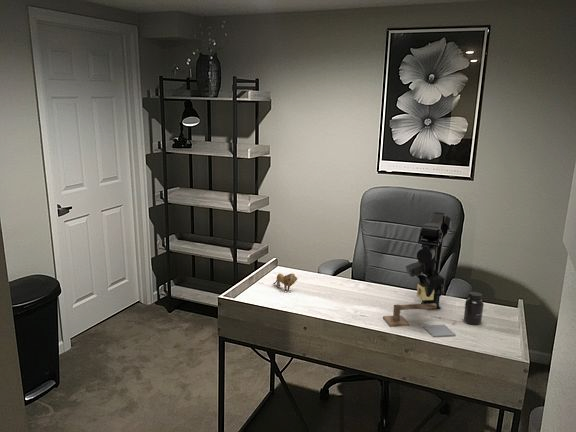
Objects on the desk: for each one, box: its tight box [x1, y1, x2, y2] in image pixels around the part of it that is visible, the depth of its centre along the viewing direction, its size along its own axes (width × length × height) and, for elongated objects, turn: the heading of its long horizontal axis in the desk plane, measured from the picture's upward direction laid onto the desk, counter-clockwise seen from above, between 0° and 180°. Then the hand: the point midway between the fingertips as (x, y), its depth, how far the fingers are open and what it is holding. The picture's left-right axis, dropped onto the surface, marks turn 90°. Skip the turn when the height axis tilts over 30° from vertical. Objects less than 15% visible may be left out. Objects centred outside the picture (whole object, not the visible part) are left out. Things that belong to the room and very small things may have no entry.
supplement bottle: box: [463, 291, 485, 326], centre depth 193 cm, size 7×7×12 cm
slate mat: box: [422, 324, 457, 338], centre depth 184 cm, size 9×9×1 cm
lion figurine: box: [272, 272, 298, 292], centre depth 224 cm, size 15×5×9 cm, turn 46°
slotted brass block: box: [416, 282, 434, 301], centre depth 191 cm, size 5×5×6 cm
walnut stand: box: [382, 303, 437, 328], centre depth 192 cm, size 20×8×7 cm, turn 99°
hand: (425, 294), depth 191 cm, fingers closed on slotted brass block, 5 cm apart
